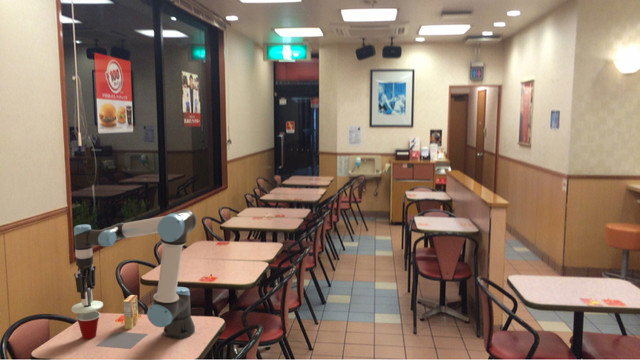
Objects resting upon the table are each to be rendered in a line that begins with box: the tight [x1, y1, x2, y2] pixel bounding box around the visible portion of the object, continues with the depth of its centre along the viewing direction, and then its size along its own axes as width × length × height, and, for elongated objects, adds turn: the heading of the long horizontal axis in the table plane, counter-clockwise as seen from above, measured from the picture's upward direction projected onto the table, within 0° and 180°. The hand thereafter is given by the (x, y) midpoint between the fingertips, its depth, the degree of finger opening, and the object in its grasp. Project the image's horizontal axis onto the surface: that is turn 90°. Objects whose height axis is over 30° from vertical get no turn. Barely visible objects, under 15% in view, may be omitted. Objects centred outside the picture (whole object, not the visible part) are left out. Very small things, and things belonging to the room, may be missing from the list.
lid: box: [71, 286, 104, 314], centre depth 241 cm, size 14×14×10 cm
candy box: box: [123, 294, 139, 330], centre depth 256 cm, size 9×4×15 cm, turn 179°
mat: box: [95, 331, 149, 350], centre depth 240 cm, size 18×16×1 cm
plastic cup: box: [75, 311, 101, 340], centre depth 243 cm, size 11×11×12 cm
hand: (87, 303), depth 242 cm, fingers closed on lid, 3 cm apart
